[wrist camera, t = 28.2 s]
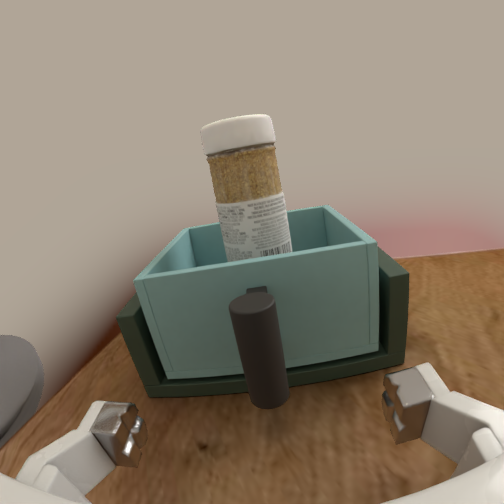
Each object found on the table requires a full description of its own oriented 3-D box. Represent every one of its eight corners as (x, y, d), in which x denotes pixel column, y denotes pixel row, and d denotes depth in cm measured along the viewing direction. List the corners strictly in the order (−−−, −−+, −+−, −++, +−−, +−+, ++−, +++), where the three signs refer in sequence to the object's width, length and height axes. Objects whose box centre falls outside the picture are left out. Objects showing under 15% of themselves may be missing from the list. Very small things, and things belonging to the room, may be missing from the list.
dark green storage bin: (148, 397, 18) (114, 316, 16) (189, 303, 31) (175, 246, 30) (404, 363, 17) (409, 272, 15) (349, 279, 30) (344, 219, 28)
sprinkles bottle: (285, 293, 25) (256, 121, 21) (312, 316, 21) (282, 109, 17) (230, 310, 24) (194, 130, 20) (249, 338, 20) (206, 118, 16)
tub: (148, 431, 13) (95, 320, 12) (199, 297, 29) (183, 228, 27) (404, 400, 12) (416, 272, 11) (335, 276, 28) (328, 204, 26)
